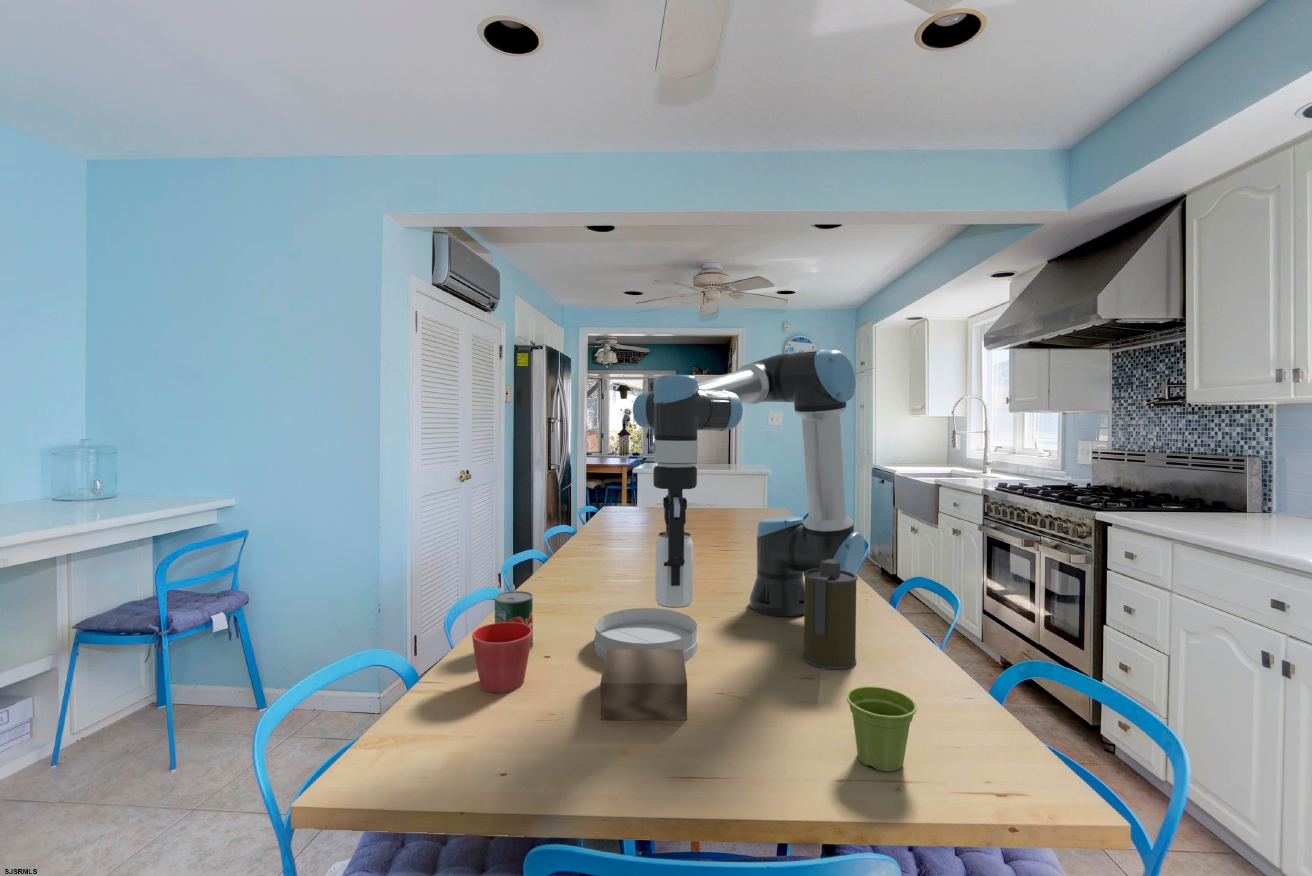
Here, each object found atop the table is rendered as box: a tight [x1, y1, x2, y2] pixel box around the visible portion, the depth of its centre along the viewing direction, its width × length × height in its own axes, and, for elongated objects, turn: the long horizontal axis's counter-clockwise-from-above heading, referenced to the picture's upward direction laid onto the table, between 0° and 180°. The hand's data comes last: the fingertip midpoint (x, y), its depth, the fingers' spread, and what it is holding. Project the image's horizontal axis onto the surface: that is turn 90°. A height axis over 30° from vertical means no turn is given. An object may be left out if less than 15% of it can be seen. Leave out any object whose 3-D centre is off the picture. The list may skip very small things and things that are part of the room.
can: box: [654, 531, 694, 609], centre depth 103 cm, size 6×6×12 cm
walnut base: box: [599, 649, 688, 721], centre depth 103 cm, size 14×14×6 cm
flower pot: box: [471, 622, 532, 694], centre depth 108 cm, size 11×11×10 cm
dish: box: [593, 607, 699, 662], centre depth 127 cm, size 22×22×5 cm
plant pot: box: [845, 685, 918, 772], centre depth 85 cm, size 9×9×9 cm
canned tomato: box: [494, 590, 534, 650], centre depth 125 cm, size 8×8×11 cm
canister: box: [802, 559, 858, 671], centre depth 120 cm, size 11×10×20 cm
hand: (673, 597), depth 103 cm, fingers closed on can, 6 cm apart
